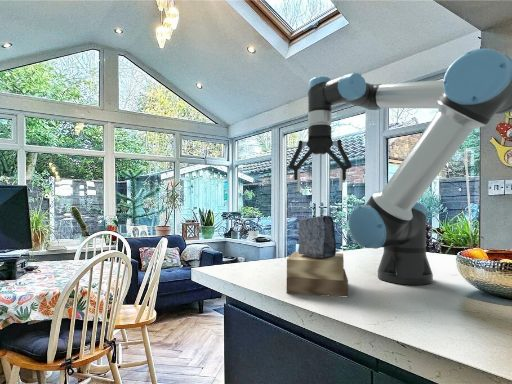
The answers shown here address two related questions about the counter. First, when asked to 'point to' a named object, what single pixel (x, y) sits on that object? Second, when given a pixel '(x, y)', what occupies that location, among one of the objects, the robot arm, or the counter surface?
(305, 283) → the tower base
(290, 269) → the tower top
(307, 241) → the stone
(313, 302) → the counter surface
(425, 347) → the counter surface
